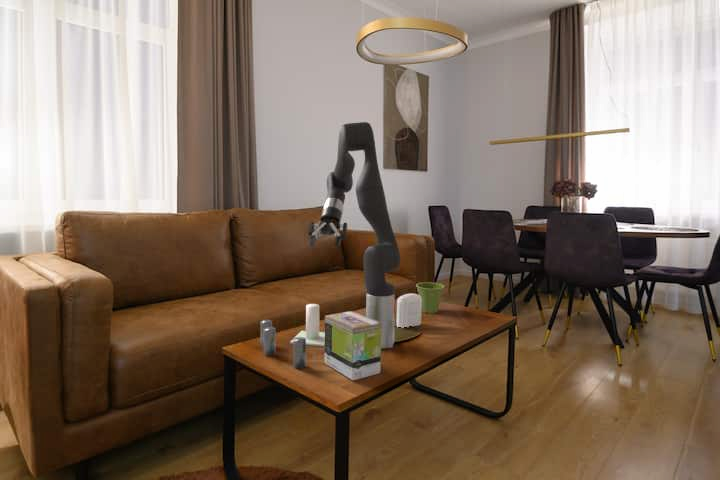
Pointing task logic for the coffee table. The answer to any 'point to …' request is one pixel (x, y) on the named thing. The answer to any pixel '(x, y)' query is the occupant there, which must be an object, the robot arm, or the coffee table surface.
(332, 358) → the tea box
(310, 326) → the cylinder
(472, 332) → the coffee table surface
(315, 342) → the mat
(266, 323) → the posts
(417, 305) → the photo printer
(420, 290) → the plant pot
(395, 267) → the robot arm
